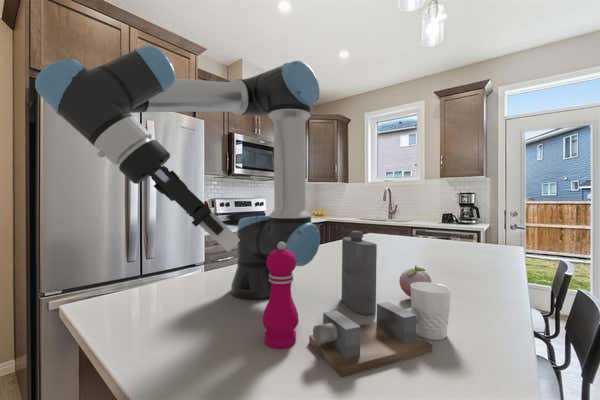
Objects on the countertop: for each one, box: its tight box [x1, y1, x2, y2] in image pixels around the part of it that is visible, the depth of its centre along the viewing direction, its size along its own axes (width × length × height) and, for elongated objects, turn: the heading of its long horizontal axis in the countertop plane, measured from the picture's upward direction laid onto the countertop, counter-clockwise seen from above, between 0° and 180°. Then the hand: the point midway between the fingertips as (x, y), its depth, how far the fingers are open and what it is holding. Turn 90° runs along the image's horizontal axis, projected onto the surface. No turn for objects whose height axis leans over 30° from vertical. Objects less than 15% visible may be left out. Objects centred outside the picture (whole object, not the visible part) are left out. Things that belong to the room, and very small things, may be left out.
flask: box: [341, 230, 378, 316], centre depth 79 cm, size 15×6×20 cm, turn 13°
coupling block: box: [308, 301, 433, 378], centre depth 56 cm, size 12×23×6 cm, turn 114°
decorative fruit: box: [398, 265, 432, 298], centre depth 84 cm, size 9×8×10 cm
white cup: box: [410, 281, 452, 341], centre depth 63 cm, size 8×8×10 cm
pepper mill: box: [262, 242, 300, 349], centre depth 58 cm, size 7×7×20 cm
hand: (226, 240), depth 54 cm, fingers open, 13 cm apart
